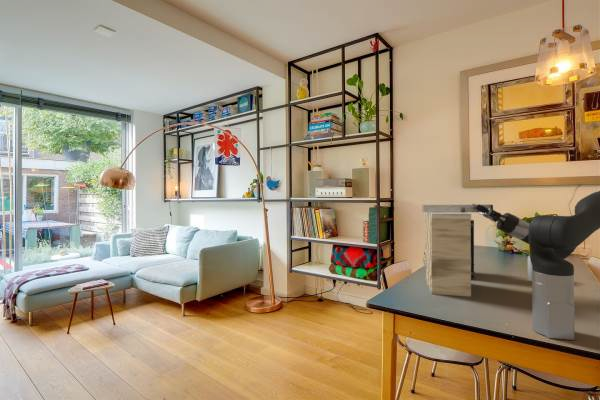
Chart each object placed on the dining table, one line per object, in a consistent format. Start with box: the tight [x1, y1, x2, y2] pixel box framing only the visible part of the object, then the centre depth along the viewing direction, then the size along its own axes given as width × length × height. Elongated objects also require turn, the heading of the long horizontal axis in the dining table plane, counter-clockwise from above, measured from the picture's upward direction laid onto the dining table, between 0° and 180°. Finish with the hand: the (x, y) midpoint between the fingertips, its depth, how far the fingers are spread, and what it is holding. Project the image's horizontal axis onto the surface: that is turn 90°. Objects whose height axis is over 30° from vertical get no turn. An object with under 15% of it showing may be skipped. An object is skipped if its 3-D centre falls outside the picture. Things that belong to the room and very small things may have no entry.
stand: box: [424, 207, 472, 297], centre depth 132 cm, size 22×14×34 cm, turn 165°
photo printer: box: [526, 254, 532, 283], centre depth 142 cm, size 10×4×12 cm, turn 123°
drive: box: [422, 204, 494, 213], centre depth 131 cm, size 4×26×3 cm, turn 75°
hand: (474, 206), depth 129 cm, fingers open, 8 cm apart
